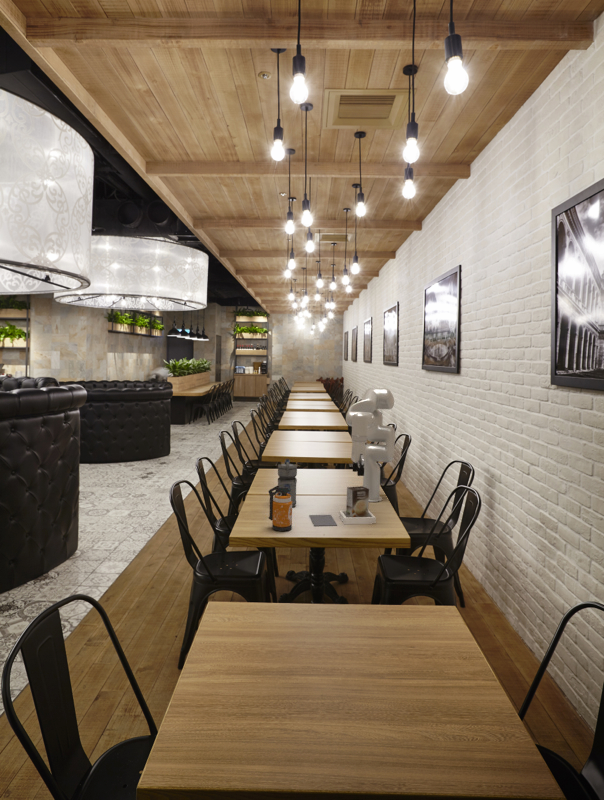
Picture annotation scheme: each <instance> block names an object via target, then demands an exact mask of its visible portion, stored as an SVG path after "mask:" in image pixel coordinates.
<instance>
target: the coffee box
mask: <svg viewBox="0 0 604 800" xmlns="http://www.w3.org/2000/svg"><path fill="white" fill-rule="evenodd" d="M369 503H370V502H369V489H368V488H366V487H363V485H362V486H350V487H349V486H348V487H347V488H346V508H345V509H346V517H368V510H369Z"/></svg>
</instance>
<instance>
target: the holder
mask: <svg viewBox="0 0 604 800" xmlns="http://www.w3.org/2000/svg"><path fill="white" fill-rule="evenodd" d="M338 517H339V519H340V518H341V519H340V520H341V522H342V521H343V522H342V523H343V525H373V524H372V523H377V522H376V520H377V518H376V516H375V515H374V514H373V513H372V512H371V511H370V510H369V509H368V517H346V510H338Z"/></svg>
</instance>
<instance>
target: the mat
mask: <svg viewBox="0 0 604 800" xmlns="http://www.w3.org/2000/svg"><path fill="white" fill-rule="evenodd" d="M308 517H309V518H310V520H311V523H312V524H314V525H313V527H338V524H337V522H336V521H335V519H334V517H333V516H332V514H309V515H308Z"/></svg>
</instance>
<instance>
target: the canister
mask: <svg viewBox="0 0 604 800" xmlns="http://www.w3.org/2000/svg"><path fill="white" fill-rule="evenodd" d="M290 491H291V488H289V487H280V486H278V484H277V485H276V486H274V487H273V488H270V489H269V490H268V494H269V516H268V519H269V520H270V521H272V525H271V527H272V529H274V530H275V531H278V532H285V531H286V530H287V531H289V530H291V529H293V526H292V525H293V523H292V522H293V507H292V501H291V495H290V494H287V493H288V492H290ZM287 531H286V532H287Z"/></svg>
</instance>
